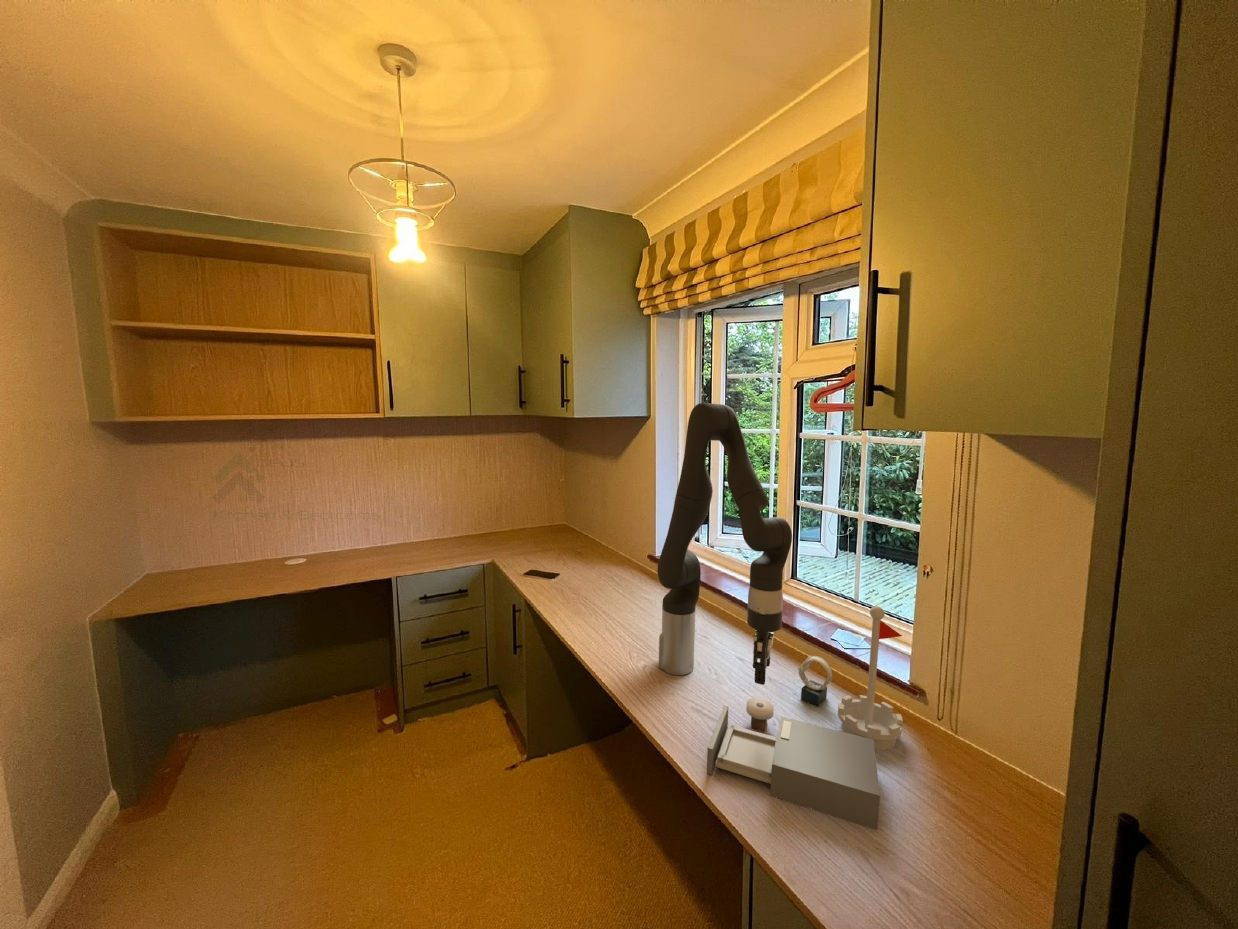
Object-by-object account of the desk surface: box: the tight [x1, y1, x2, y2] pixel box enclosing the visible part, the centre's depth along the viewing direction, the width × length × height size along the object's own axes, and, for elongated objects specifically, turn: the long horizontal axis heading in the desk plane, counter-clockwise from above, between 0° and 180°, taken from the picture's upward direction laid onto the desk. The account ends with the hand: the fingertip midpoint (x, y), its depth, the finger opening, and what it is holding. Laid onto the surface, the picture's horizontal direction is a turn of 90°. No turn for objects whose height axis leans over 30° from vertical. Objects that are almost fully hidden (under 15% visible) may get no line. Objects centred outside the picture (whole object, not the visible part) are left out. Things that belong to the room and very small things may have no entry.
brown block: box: [750, 716, 768, 733], centre depth 113 cm, size 3×3×4 cm
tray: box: [706, 705, 777, 785], centre depth 101 cm, size 18×16×6 cm
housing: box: [769, 715, 881, 830], centre depth 96 cm, size 18×16×7 cm
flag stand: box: [837, 605, 904, 751], centre depth 110 cm, size 13×13×30 cm
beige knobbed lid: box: [745, 697, 775, 721], centre depth 113 cm, size 6×6×2 cm
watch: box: [797, 655, 833, 708], centre depth 124 cm, size 6×8×11 cm
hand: (762, 674), depth 112 cm, fingers open, 8 cm apart
